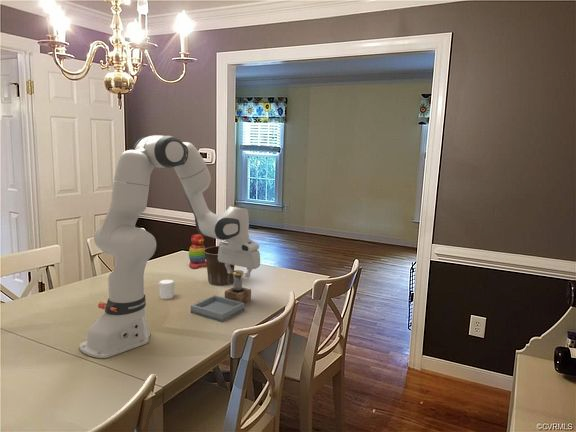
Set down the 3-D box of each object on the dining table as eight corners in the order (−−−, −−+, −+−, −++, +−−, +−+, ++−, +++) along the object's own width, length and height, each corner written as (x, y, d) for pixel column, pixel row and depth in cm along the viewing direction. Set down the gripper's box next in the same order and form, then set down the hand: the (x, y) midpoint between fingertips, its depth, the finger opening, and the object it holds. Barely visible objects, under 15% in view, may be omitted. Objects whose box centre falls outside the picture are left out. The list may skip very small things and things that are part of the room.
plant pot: (222, 289, 189) (222, 255, 186) (196, 283, 197) (196, 250, 195) (243, 280, 203) (244, 249, 200) (219, 274, 211) (219, 244, 208)
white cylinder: (170, 300, 174) (169, 284, 173) (155, 298, 176) (155, 283, 175) (177, 294, 181) (177, 279, 180) (163, 293, 182) (163, 278, 181)
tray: (222, 322, 154) (222, 314, 153) (190, 312, 162) (190, 305, 161) (244, 310, 166) (244, 303, 165) (214, 301, 174) (214, 295, 173)
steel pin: (238, 304, 172) (239, 274, 170) (230, 302, 174) (230, 272, 172) (245, 301, 176) (245, 271, 174) (236, 298, 178) (237, 269, 176)
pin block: (239, 306, 170) (239, 294, 169) (224, 302, 174) (224, 291, 173) (251, 300, 176) (251, 289, 175) (236, 296, 180) (236, 286, 180)
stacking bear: (193, 269, 219) (192, 237, 216) (184, 265, 226) (184, 233, 223) (211, 266, 226) (210, 234, 223) (202, 262, 233) (201, 231, 230)
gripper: (214, 241, 173) (214, 272, 176) (253, 248, 163) (253, 281, 166) (223, 238, 179) (224, 269, 181) (262, 245, 169) (262, 277, 171)
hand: (238, 275), depth 173 cm, fingers open, 8 cm apart
